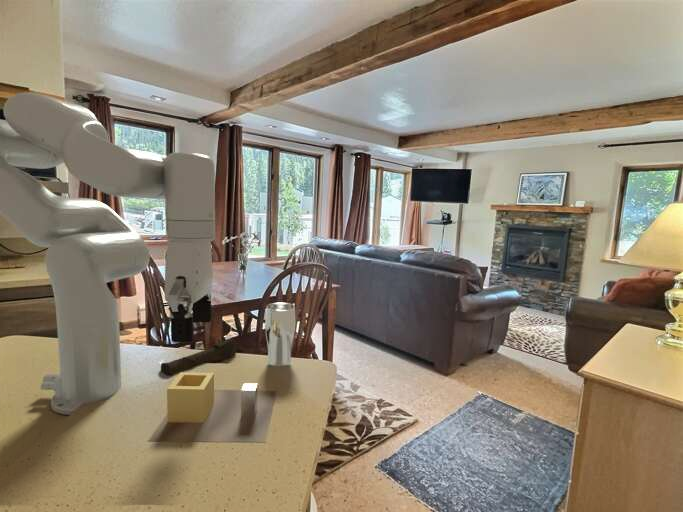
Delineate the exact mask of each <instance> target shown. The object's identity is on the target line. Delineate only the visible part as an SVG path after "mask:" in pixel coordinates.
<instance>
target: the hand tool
mask: <svg viewBox="0 0 683 512" xmlns="http://www.w3.org/2000/svg"><path fill="white" fill-rule="evenodd" d="M236 354H237V344H236V342H235V340H234V339H232V338H231V339H229V338H227V339H224V340H221V341H217V342H215V343H214V344H213V346H212V347H210V348H207V349H204V350H202V351H198V352H196V353H192V354H190V355H187V356H183V357H181V358H177V359H175V360H171V361H168V362H161V365H160V371H161V373H162V374H164V375H165V376H170V377H172V376H173V375H175V374H179V373H180V372H183V371H186V370H188V369H192V368H194V367H196V366H198V365H202V364H212V363H215V362H217V363H222V362H224V361H227V360H228V359H230V358H231V357H233V356H235V355H236Z"/></svg>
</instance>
